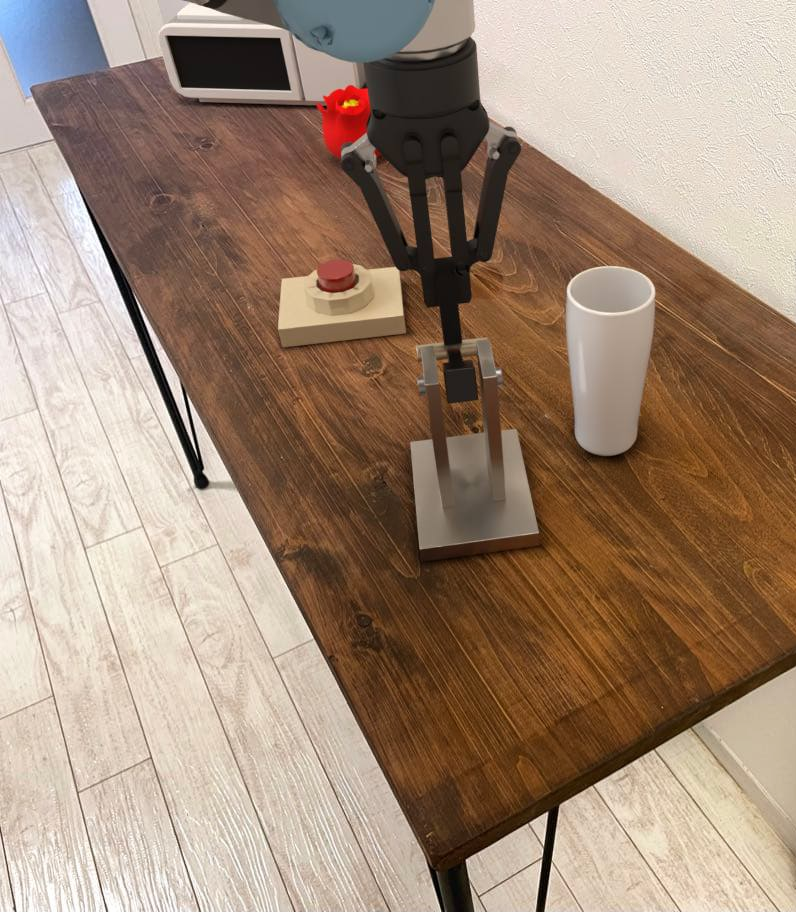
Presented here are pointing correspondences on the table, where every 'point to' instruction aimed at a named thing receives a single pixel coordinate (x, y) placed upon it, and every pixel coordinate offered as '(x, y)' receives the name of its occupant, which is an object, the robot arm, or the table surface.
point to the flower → (345, 117)
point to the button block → (341, 308)
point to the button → (336, 276)
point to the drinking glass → (608, 354)
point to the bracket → (470, 475)
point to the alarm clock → (248, 61)
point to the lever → (457, 369)
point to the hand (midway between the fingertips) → (451, 334)
